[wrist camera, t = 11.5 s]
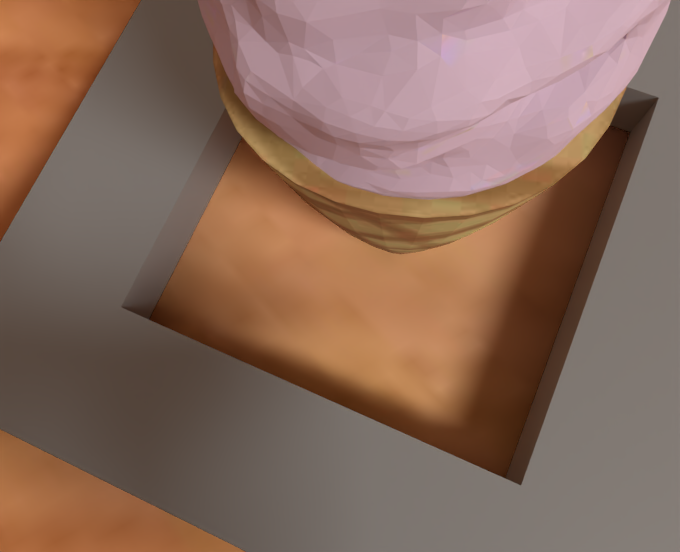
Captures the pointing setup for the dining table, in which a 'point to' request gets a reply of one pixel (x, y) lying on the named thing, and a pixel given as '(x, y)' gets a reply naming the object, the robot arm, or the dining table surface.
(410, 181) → the ice cream cone
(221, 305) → the dining table surface
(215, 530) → the grey flat square frame
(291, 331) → the dining table surface
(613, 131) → the dining table surface
